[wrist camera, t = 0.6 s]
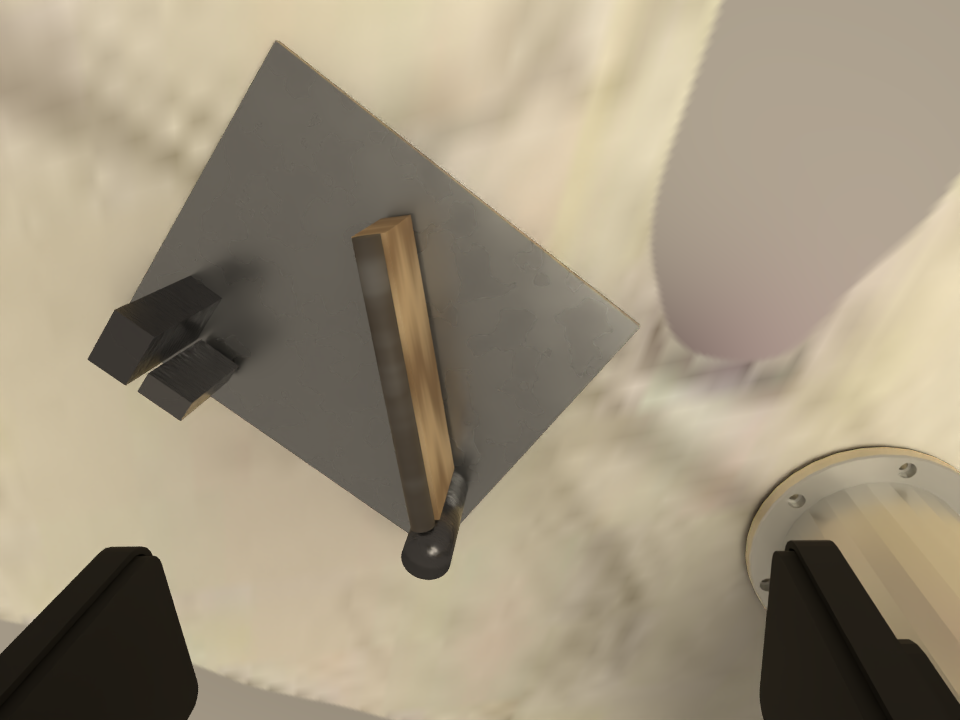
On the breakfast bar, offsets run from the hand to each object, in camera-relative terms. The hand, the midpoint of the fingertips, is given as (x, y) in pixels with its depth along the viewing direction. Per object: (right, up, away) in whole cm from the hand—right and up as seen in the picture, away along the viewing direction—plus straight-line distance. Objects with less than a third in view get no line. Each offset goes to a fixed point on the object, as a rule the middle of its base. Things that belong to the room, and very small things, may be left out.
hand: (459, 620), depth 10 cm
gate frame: (-6, +6, +26) cm, 27 cm away
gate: (-3, +4, +25) cm, 25 cm away
